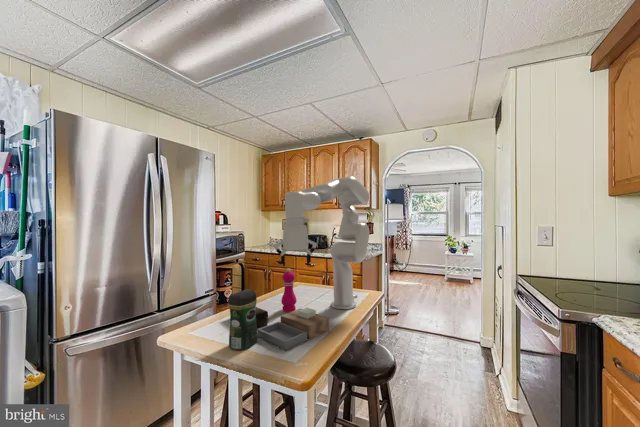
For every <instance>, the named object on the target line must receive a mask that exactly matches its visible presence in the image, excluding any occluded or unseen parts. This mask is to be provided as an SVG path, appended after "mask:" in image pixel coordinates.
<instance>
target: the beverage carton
mask: <svg viewBox="0 0 640 427" xmlns="http://www.w3.org/2000/svg"><path fill="white" fill-rule="evenodd" d="M268 320H269V312H268V311H267V310H265V309H262V308H260V307H258V306H256V325H257V329H260V328H262V327H265V326H268V325H269V324H268V322H269V321H268Z"/></svg>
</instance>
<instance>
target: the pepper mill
mask: <svg viewBox="0 0 640 427" xmlns="http://www.w3.org/2000/svg"><path fill="white" fill-rule="evenodd" d="M281 277H282V278H281V279H282V280H283V283H282V284H283V286H284V292H283V294H282V297H281V301H280V302H281V305H283V306H282V311H283V312H284V313H290V312H293V311H295V310H297V309H296V304H297V296H296V294H295V292H294V284H295V283H294V282H295V279H296V276H295V273H294V272H293V271H291V268H290V267H289V268H286V271H285V272H284V273H283V274H282V276H281Z"/></svg>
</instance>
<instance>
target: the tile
mask: <svg viewBox="0 0 640 427" xmlns="http://www.w3.org/2000/svg"><path fill="white" fill-rule="evenodd" d="M301 309H302V310H299V311H298V316H300V317H303V318H306V319H308V318H310V317H313V316H315V315H316V314H317V310H316V309H313V308H309V307H305V308H301Z"/></svg>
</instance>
